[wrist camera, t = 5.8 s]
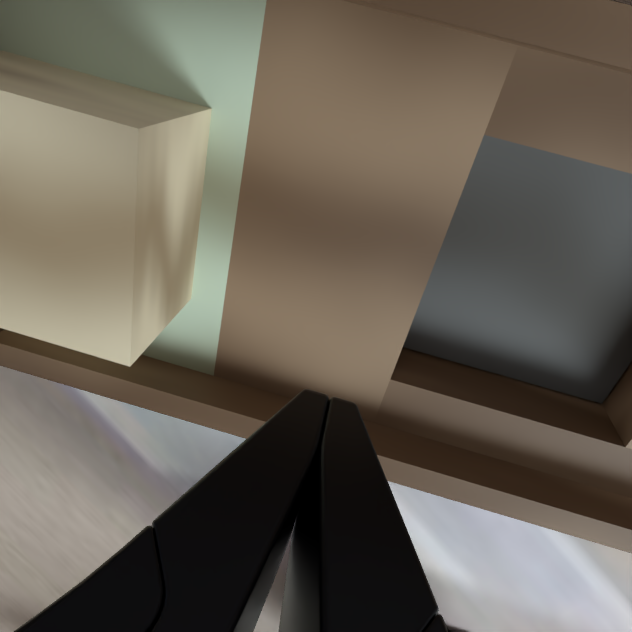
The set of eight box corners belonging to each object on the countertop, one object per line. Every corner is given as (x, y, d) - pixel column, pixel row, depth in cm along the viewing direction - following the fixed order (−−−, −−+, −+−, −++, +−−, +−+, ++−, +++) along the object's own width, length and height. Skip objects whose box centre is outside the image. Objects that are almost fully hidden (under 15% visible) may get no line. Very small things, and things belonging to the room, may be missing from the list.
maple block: (191, 298, 16) (130, 366, 12) (21, 248, 16) (-84, 302, 13) (211, 108, 13) (138, 128, 9) (3, 50, 13) (-143, 49, 10)
